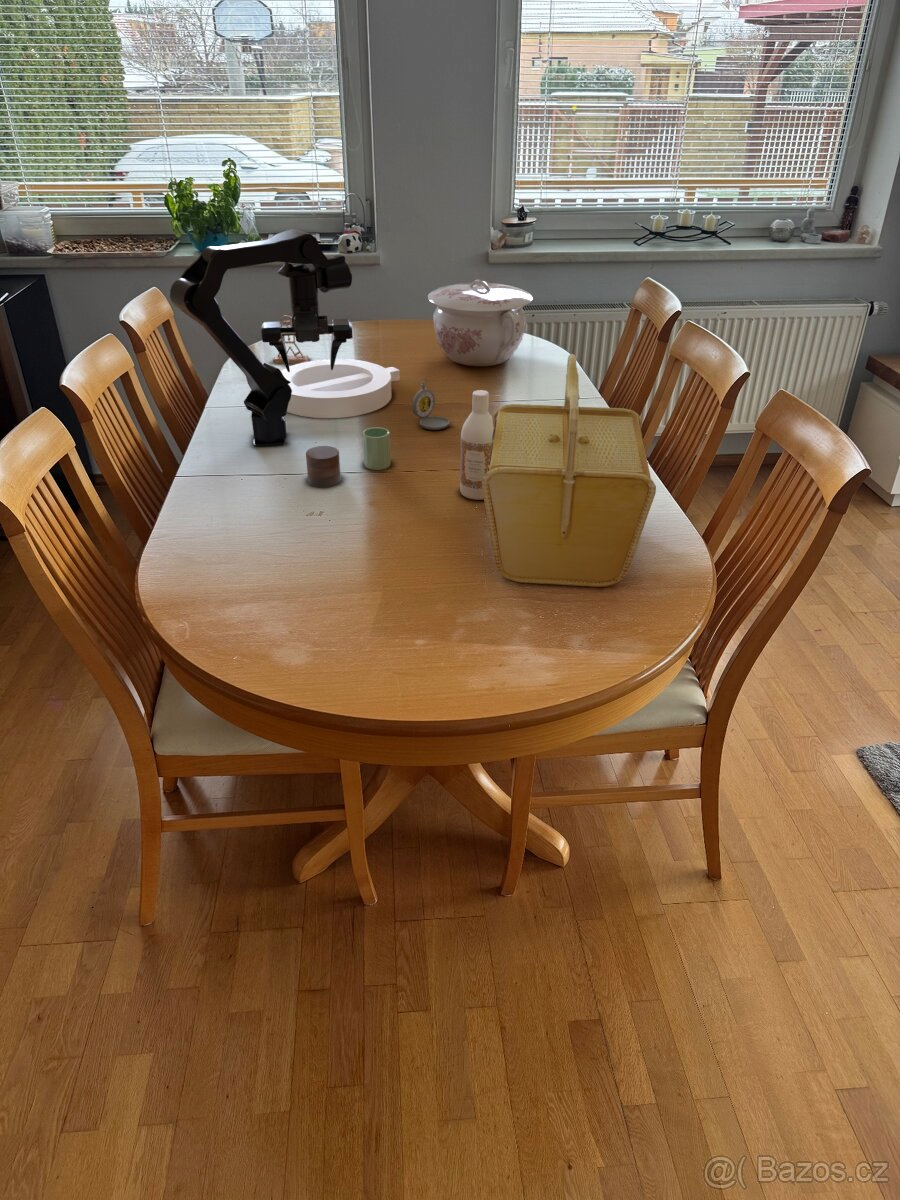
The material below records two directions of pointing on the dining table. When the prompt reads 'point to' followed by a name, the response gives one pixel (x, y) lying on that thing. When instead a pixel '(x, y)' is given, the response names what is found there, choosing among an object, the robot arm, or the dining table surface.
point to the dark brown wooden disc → (322, 457)
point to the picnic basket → (566, 491)
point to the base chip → (324, 481)
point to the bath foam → (475, 446)
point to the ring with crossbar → (338, 388)
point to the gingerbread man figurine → (295, 357)
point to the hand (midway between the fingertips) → (310, 370)
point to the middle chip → (323, 471)
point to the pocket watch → (427, 409)
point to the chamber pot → (479, 321)
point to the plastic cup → (376, 448)
